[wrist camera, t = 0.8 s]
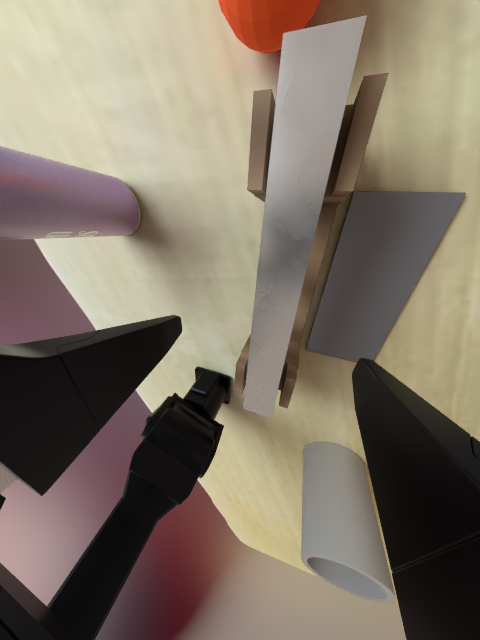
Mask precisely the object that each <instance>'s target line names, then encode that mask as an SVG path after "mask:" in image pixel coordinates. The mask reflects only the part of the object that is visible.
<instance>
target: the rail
mask: <svg viewBox="0 0 480 640" xmlns="http://www.w3.org/2000/svg"><path fill="white" fill-rule="evenodd" d="M366 18H367V15H365V16H361V17H356V18H351V19H347V20H342V21H338V22H333V23H328V24H324V25H319V26H314V27H310V28H305V29H301V30H296V31H291V32H287V33H283V40H282V49H281V58H280V68H279V77H278V86H277V96H276V105H275V114H274V124H273V133H272V142H271V152H270V161H269V170H268V180H267V189H266V198H265V208H264V217H263V226H262V236H261V245H260V255H259V264H258V273H257V283H256V292H255V301H254V311H253V320H252V329H251V339H250V348H249V357H248V367H247V376H246V385H245V395H244V404H243V409H245V410H248V411H251V412H254V413H257V414H259V415H262V416H265V417H268V418H271V416H272V412H273V408H274V404H275V399H276V395H277V391H278V387H279V383H280V378H281V374H282V370H283V366H284V362H285V357H286V353H287V349H288V345H289V341H290V336H291V332H292V328H293V324H294V320H295V316H296V311H297V307H298V303H299V299H300V295H301V290H302V286H303V282H304V278H305V274H306V269H307V265H308V261H309V257H310V253H311V248H312V244H313V240H314V236H315V232H316V227H317V223H318V219H319V215H320V211H321V206H322V202H323V198H324V194H325V190H326V185H327V181H328V177H329V173H330V169H331V164H332V160H333V156H334V152H335V148H336V143H337V139H338V135H339V131H340V127H341V122H342V118H343V114H344V110H345V106H346V101H347V97H348V93H349V89H350V85H351V80H352V76H353V72H354V68H355V64H356V60H357V55H358V51H359V47H360V43H361V39H362V34H363V30H364V26H365V22H366Z"/></svg>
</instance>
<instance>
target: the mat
mask: <svg viewBox="0 0 480 640" xmlns="http://www.w3.org/2000/svg"><path fill="white" fill-rule="evenodd" d="M465 194H466V193H445V192H369V191H354V192H353V195H352V198H351V202H350V205H349V208H348V212H347V215H346V218H345V222H344V225H343V228H342V232H341V235H340V238H339V241H338V245H337V248H336V251H335V255H334V258H333V261H332V265H331V268H330V271H329V275H328V278H327V281H326V284H325V288H324V291H323V294H322V298H321V301H320V304H319V308H318V311H317V314H316V318H315V321H314V324H313V328H312V331H311V334H310V337H309V341H308V344H307V347H306V350H308V351H312V352H316V353H320V354H325V355H329V356H333V357H337V358H341V359H346V360H350V361H354V362H358V360H359V359H360V358H366V359H371V360H374V358H375V356H376V355H377V353H378V351H379V349H380V347H381V346H382V344H383V342H384V340H385V338H386V337H387V335H388V333H389V331H390V329H391V328H392V326H393V324H394V322H395V320H396V319H397V317H398V315H399V313H400V311H401V310H402V308H403V306H404V304H405V302H406V301H407V299H408V297H409V295H410V293H411V292H412V290H413V288H414V286H415V284H416V283H417V281H418V279H419V277H420V275H421V274H422V272H423V270H424V268H425V266H426V265H427V263H428V261H429V259H430V257H431V256H432V254H433V252H434V250H435V248H436V247H437V245H438V243H439V241H440V239H441V238H442V236H443V234H444V232H445V230H446V229H447V227H448V225H449V223H450V221H451V220H452V218H453V216H454V214H455V212H456V211H457V209H458V207H459V205H460V203H461V202H462V200H463V198H464V196H465Z"/></svg>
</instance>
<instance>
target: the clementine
mask: <svg viewBox="0 0 480 640" xmlns="http://www.w3.org/2000/svg"><path fill="white" fill-rule="evenodd" d="M218 1H219V4H220V8H221V11H222V12H223V14H224V16H225V18H226V19H227V21H228V23H229V25H230V26H231V28H232V30H233V32H234V33H235V35H236V37H237V38H238V39H239V40H240V41H241V42H242V43H244V44H245V45H246V46H247V47H248V48H251V49H253V50H255V51H258V52H262V53H270V52H276V51H278V50H280V49H282V40H283V33H287V32H291V31H296V30H301V29H304V28H305V26H306V25H307V24H308V22H309V21H310V19H311V18H312V16H313V15H314V13H315V11H316V9H317V7H318V5H319V3H320V1H321V0H218Z"/></svg>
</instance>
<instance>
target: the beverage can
mask: <svg viewBox="0 0 480 640" xmlns="http://www.w3.org/2000/svg"><path fill="white" fill-rule="evenodd" d="M140 219H141V212H140V207H139V204H138V201H137V199H136V197H135V195H134V193H133V192H132V191H131V189H130V188H129V187H128V186H127V185H126V184H125V183H124V182H123V181H121V180H120V179H118V178H115V177H112V176H108V175H104V174H101V173H97V172H93V171H90V170H86V169H82V168H79V167H75V166H71V165H68V164H64V163H60V162H57V161H53V160H49V159H46V158H42V157H38V156H35V155H31V154H27V153H23V152H20V151H16V150H12V149H9V148H5V147H1V146H0V240H8V239H9V240H10V239H40V238H69V237H99V236H127V235H131V234H132V233H134V232H135V231H136V229H137V228H138V226H139V224H140Z"/></svg>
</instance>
